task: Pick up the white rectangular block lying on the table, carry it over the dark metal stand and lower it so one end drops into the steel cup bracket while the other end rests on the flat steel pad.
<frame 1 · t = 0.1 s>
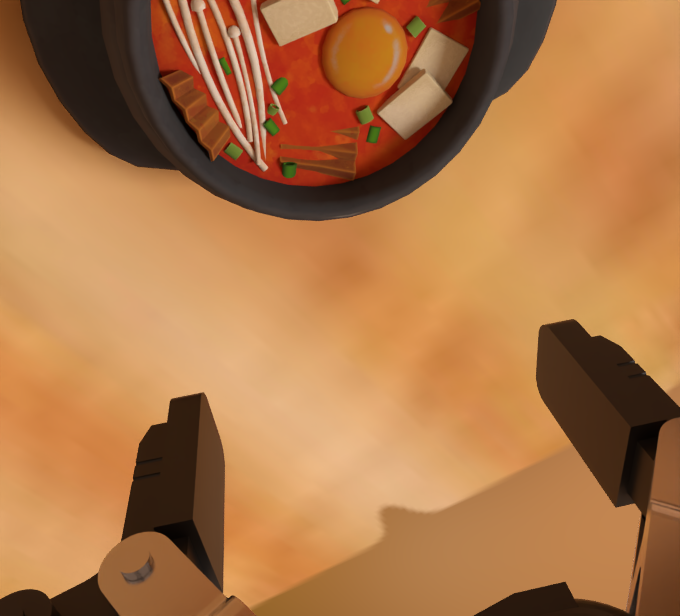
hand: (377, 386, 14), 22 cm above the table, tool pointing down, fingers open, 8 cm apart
casserole: (300, 1, 29), on the table
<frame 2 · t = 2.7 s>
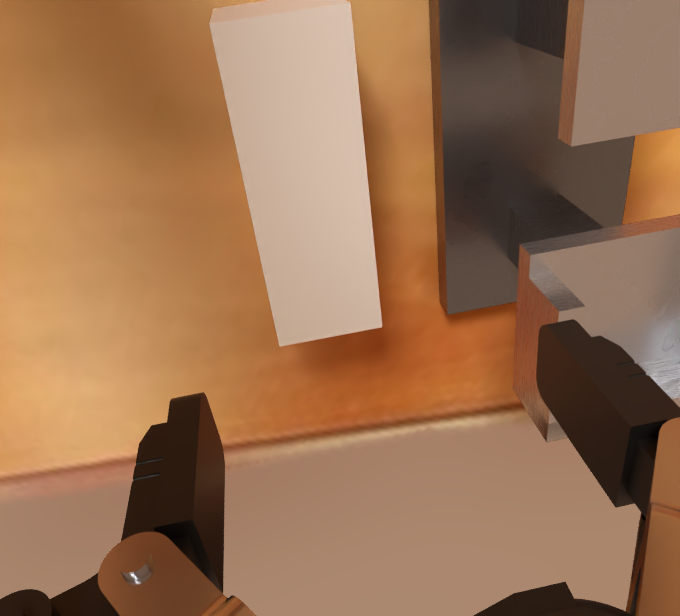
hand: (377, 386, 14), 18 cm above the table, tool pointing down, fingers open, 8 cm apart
white rectangular block: (296, 156, 29), on the table
rail stand: (529, 118, 30), on the table
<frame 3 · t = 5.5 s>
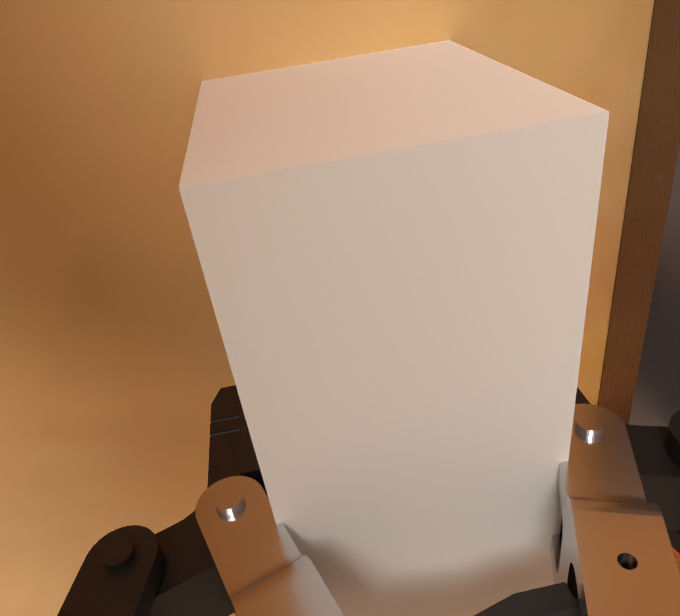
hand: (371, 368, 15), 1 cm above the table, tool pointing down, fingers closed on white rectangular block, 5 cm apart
white rectangular block: (363, 343, 15), on the table, touching gripper
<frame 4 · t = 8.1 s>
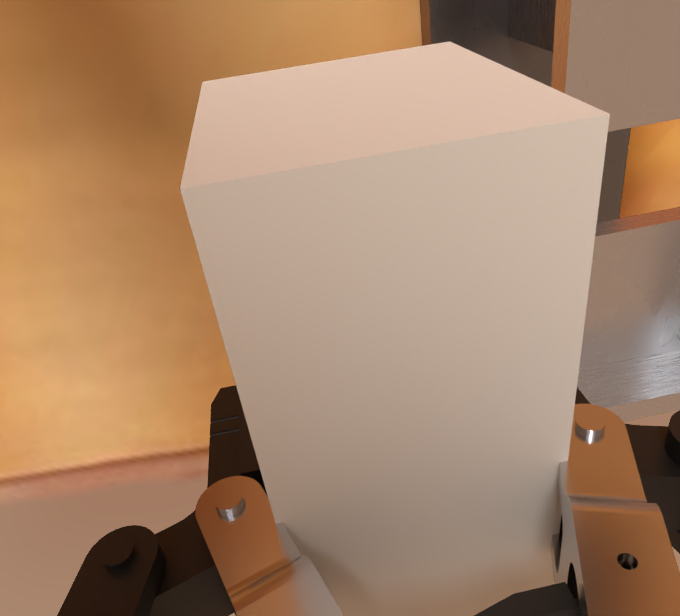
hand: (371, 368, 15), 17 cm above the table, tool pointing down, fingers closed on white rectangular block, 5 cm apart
white rectangular block: (363, 343, 16), point 16 cm above the table, touching gripper
rail stand: (523, 113, 30), on the table
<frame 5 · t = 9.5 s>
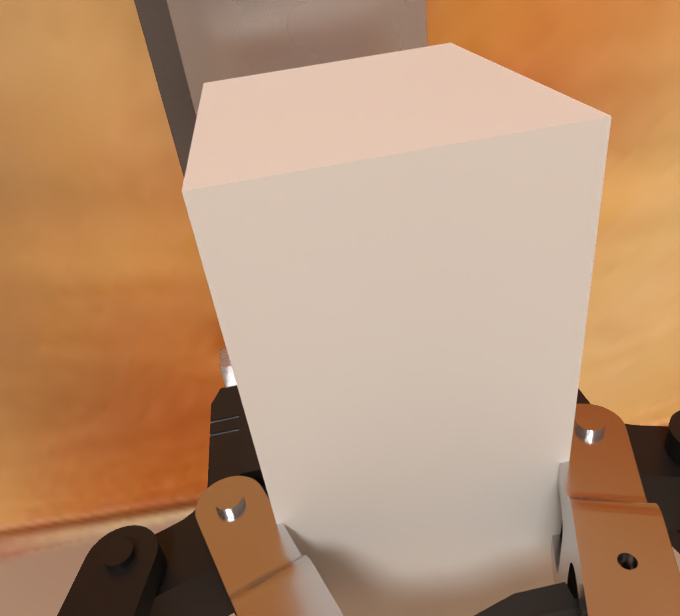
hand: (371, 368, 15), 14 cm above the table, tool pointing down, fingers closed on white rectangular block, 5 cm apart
white rectangular block: (364, 344, 16), point 13 cm above the table, touching gripper
rail stand: (306, 179, 26), on the table
when the fingers open (12 cm above the table, at t = 10.7 s): white rectangular block stays where it is, resting on rail stand.
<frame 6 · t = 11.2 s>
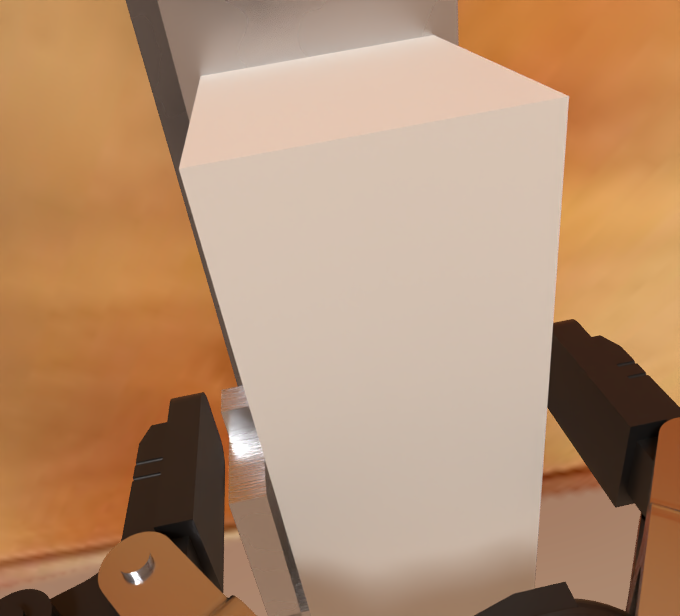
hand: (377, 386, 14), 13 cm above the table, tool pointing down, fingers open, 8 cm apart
white rectangular block: (358, 326, 16), point 10 cm above the table, touching rail stand
rail stand: (314, 195, 25), on the table
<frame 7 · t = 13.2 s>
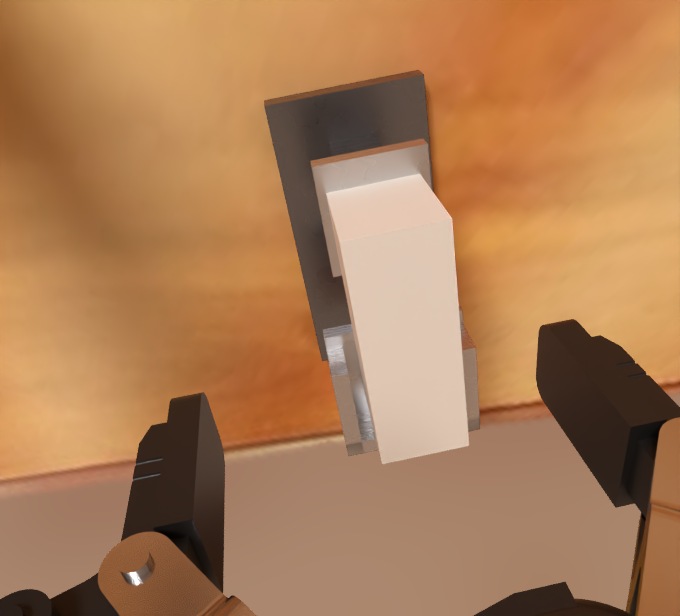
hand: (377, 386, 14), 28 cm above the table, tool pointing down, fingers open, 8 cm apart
white rectangular block: (389, 296, 34), point 10 cm above the table, touching rail stand
rail stand: (363, 227, 43), on the table
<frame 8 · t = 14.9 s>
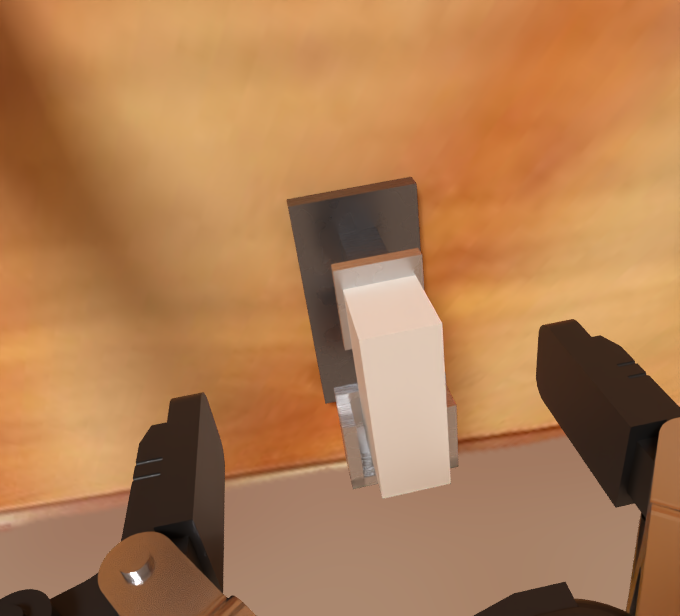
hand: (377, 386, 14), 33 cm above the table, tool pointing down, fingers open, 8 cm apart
white rectangular block: (388, 363, 43), point 10 cm above the table, touching rail stand
rail stand: (363, 295, 52), on the table
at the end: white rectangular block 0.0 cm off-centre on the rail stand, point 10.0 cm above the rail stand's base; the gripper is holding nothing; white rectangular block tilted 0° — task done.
